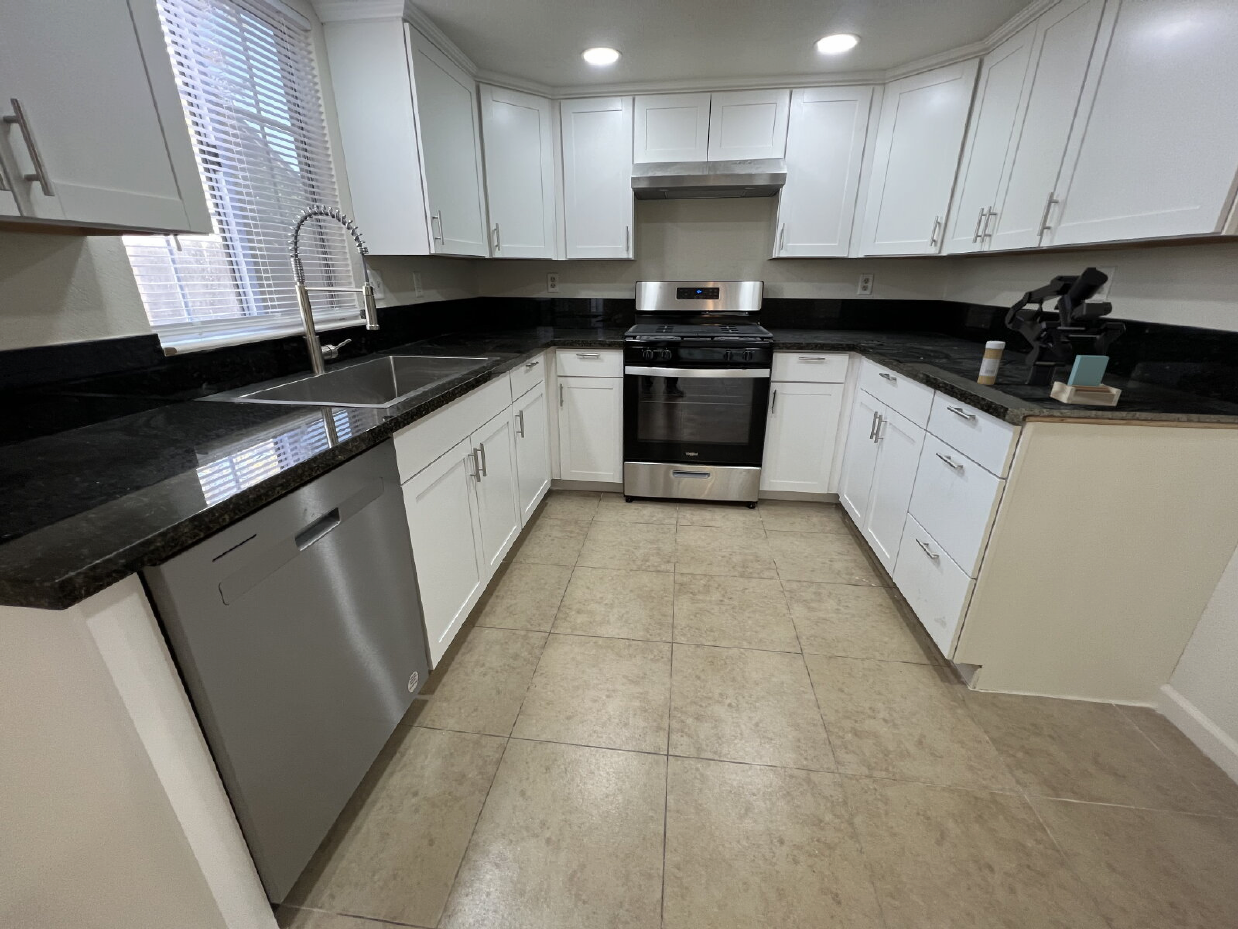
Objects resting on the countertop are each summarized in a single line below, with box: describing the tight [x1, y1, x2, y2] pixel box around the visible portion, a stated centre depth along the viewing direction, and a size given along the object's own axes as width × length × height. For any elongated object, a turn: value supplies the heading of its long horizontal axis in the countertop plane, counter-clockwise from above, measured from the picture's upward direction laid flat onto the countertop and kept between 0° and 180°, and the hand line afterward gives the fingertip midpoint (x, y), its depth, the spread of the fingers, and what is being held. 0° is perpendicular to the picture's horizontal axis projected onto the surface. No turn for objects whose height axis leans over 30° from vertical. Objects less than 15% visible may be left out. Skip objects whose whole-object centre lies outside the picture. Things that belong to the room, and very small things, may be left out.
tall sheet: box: [1066, 354, 1110, 386], centre depth 130 cm, size 2×6×12 cm, turn 73°
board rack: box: [1050, 381, 1122, 407], centre depth 130 cm, size 8×11×5 cm
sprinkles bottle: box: [976, 340, 1006, 386], centre depth 150 cm, size 5×5×14 cm
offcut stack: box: [1069, 385, 1110, 393], centre depth 129 cm, size 3×8×4 cm, turn 73°
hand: (1081, 357), depth 133 cm, fingers open, 9 cm apart
